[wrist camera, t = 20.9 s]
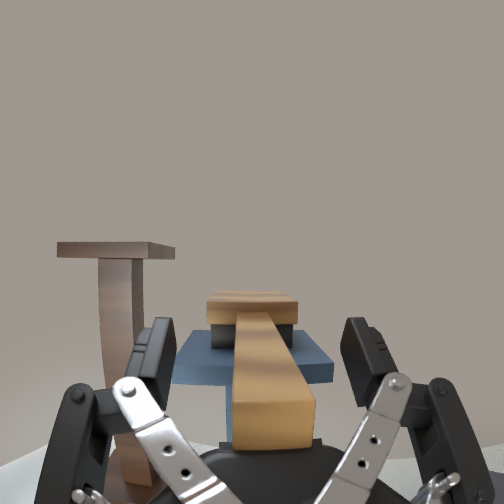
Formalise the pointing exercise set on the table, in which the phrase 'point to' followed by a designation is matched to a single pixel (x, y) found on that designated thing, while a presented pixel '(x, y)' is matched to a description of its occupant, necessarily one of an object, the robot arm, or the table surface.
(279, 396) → the hand brush
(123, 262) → the brown wooden pedestal
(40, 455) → the table surface
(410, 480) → the table surface
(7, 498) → the table surface
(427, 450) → the robot arm
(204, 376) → the stool
